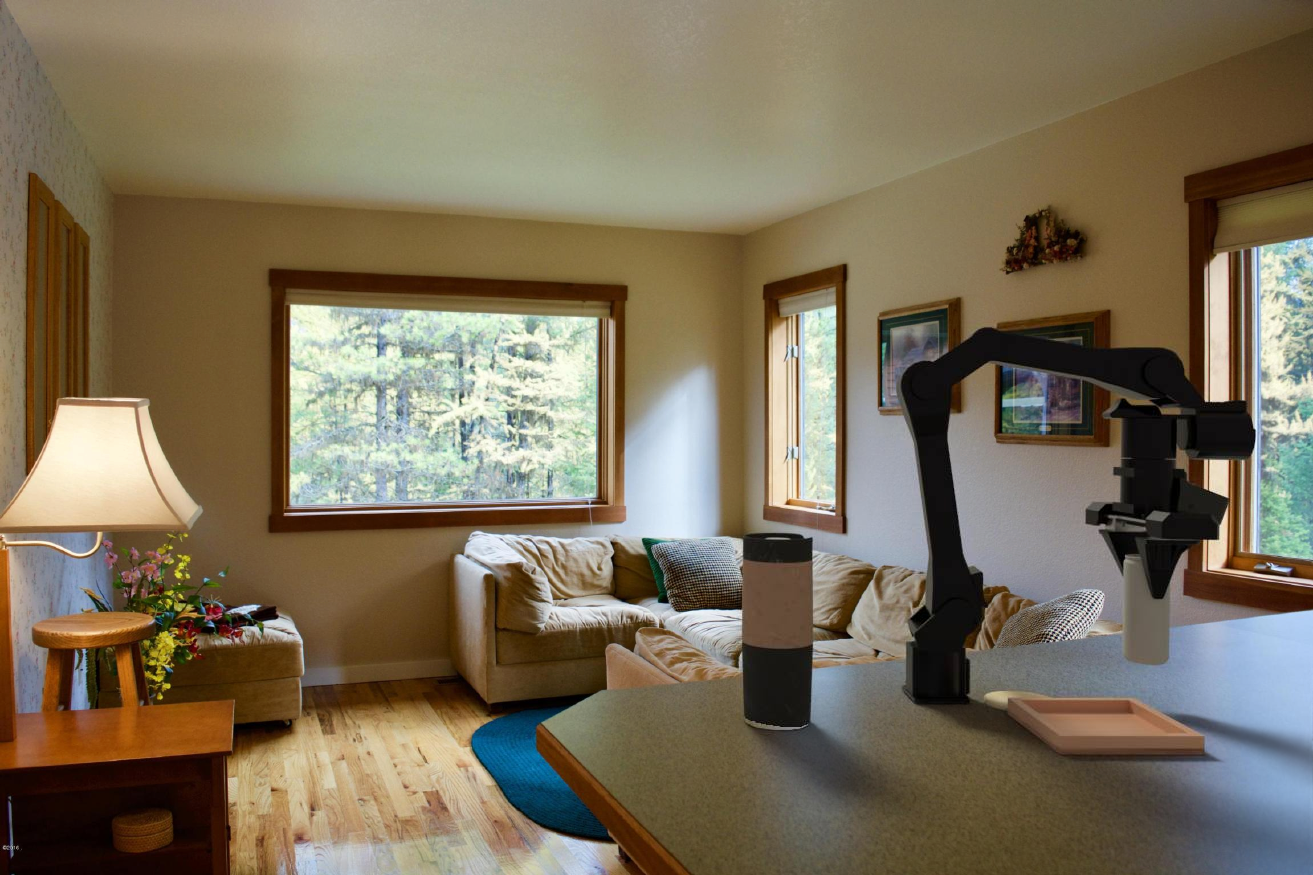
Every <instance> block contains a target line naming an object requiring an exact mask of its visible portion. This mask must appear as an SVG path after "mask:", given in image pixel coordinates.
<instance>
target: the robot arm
mask: <svg viewBox="0 0 1313 875" xmlns="http://www.w3.org/2000/svg"><path fill="white" fill-rule="evenodd" d="M986 364H991V365H992V364H993V365H996V366H997V365H998V366H1002V367H1007V368H1008V367H1009V368H1014V369H1020V370H1025V371H1032V372H1036V373H1042V374H1047V375H1053V376H1059V377H1064V378H1065V377H1066V378H1070V379H1074V380H1075V379H1077V380H1081V381H1082V380H1083V381H1085V382H1087V383H1091V384H1094V385H1096V386H1098V387H1100V388H1102V389H1105V390H1106V391H1109V392H1112V393H1114V394H1118V395H1120V396H1123V397H1121V398H1117V399H1116V400H1115V401H1114V402H1113V404H1112V405H1111V406H1110V407H1109V408H1108V409H1106V410H1105V411H1103V412H1102V414H1101V416H1102V418H1103V419H1105V420H1106V419H1109V420H1110V419H1111V420H1112V419H1113V420H1117V419H1118V420H1121V426H1120V428H1121V432H1120V434H1121V435H1120V442H1121V443H1120V466H1113V468H1112V471H1113V472H1112V476H1116V477H1117V476H1118V477H1120V479H1119V480H1120V483H1119V484H1120V485H1119V486H1120V491H1119V501H1092V502H1091V503H1090V504H1089V505H1088V506H1087V507H1086V508H1085V518H1084V519H1085V522H1084V523H1085V524H1086V525H1089V526H1095V527H1099V526H1101V525H1104V529H1102V528H1100V529H1098V533H1099V535H1101V536H1102V538H1103V539H1104V542H1105V543H1106V546H1107V547H1108V549H1109V552H1110V553H1111V556H1112V557H1113V559H1114V561H1115V563H1116V565H1117V567H1118V570H1119V572H1120V574H1121V576H1122V577H1123V574H1124V560H1125V559H1126V558H1125V555H1127V554H1140V557H1141V561H1142V565H1143V568H1144V572H1145V576H1146V579H1147V583H1148V586H1149V589H1150V592H1151V595H1152V598H1153V599H1163V598H1164V596H1165V594H1166V591H1167V588H1168V586H1169V583H1170V584H1171V580H1172V577H1173V575H1174V572H1175V569H1176V567H1177V565H1178V562H1179V560H1180V558H1181V556H1182V555H1183V554H1184V553H1186V551H1188V550H1189V549H1190V548H1192V547H1193V546H1197V545H1199V544H1200V543H1201V541H1218V540H1219V541H1220V529H1221V528H1220V526H1221V525H1222V522H1223V521H1224V517H1225V514H1226V513H1227V512H1226V511H1227V509H1228V506H1229V504H1230V501H1231V499H1230V498H1229V497H1227V496H1224V495H1222V494H1219V493H1216V492H1214V491H1211V490H1209V489H1206V488H1204V487H1201V486H1199V485H1198V484H1196V483H1190V482H1189V480H1188V473H1187V471H1185V468H1177V457H1178V456H1177V454H1178V453H1177V448H1178V449H1179V450H1180V451H1184V452H1185V454H1186V456H1187V458H1189V460H1197V461H1198V460H1200V461H1201V460H1205V461H1207V460H1208V461H1209V460H1210V461H1247V460H1248V459H1249V458H1250V457H1252V454H1253V453H1254V449H1255V445H1256V438H1257V430H1256V428H1254V422H1253V420H1252V419H1253V418H1252V417H1251V414H1250V413H1249V412H1248V410H1247V408H1248V407H1247V406H1248V405H1247V404H1248V402H1247V400H1243V399H1241V400H1240V399H1237V400H1236V399H1235V400H1232V399H1231V400H1226V401H1206V400H1205V399H1204V397H1202V395H1201V394H1200V393H1199V392H1198V390H1197V389H1196V387H1195V386H1194V385H1193V383H1191V381H1190V380H1189V379H1188V377H1187V376H1186V375H1185V370H1186V369H1185V366H1184V364H1183V361H1182V360H1181V358H1180V357H1179V356H1178V354H1177V352H1175V351H1174V350H1171V349H1169V348H1166V347H1162V346H1161V347H1158V346H1157V347H1155V346H1154V347H1152V346H1147V347H1146V346H1145V347H1144V346H1143V347H1142V346H1141V347H1140V346H1134V347H1133V346H1132V347H1130V346H1129V347H1128V346H1127V347H1126V346H1125V347H1124V346H1123V347H1094V346H1089V345H1084V344H1078V343H1073V342H1066V341H1060V340H1054V339H1050V338H1049V339H1048V338H1043V337H1036V336H1031V335H1026V334H1019V333H1015V332H1014V333H1013V332H1008V331H1004V330H1003V331H1002V330H999V329H997V328H995V327H992V326H984V327H981V328H978V329H977V330H975V331H973V332H972V333H971V334H970V335H968V337H967V339H965V340H964V341H962V342H961V343H959V344H958V345H956V346H954V347H953V348H951V349H950V350H948V351H947V352H946V353H944V354H943V355H941V356H939V357H938V358H936V359H935V360H920V361H916V362H914V363H913V364H911V365H910V366H908V367H907V368H906V369H904V370H902V372H901V373H900V374H899V376H898V378H897V380H896V383H895V392H896V393H895V394H896V397H897V400H898V403H899V406H900V409H901V413H902V415H903V418H904V421H905V423H906V426H907V428H908V431H909V433H910V436H911V439H912V442H913V445H914V446H913V448H914V454H915V455H914V456H915V462H916V470H917V475H918V478H917V479H918V483H919V490H920V499H921V506H922V513H923V515H922V516H923V520H924V521H923V522H924V528H925V535H926V542H927V543H926V545H927V550H928V561H927V569H926V577H925V596H924V597H925V598H924V604H923V605H922V606H920V608H919V609H917V611H915V613H913V614H912V615H911V616H910V617H909V618H908V619H907V620H906V623H907V626H908V629H909V632H910V635H911V636H912V638H913V639H914V640H912V641H909V640H908V641H905V684H902V685H901V691H903V692H904V693H905V695H906V696H908V697H909V698H910V699H911V701H913V702H914V703H917V704H969V703H971V702H972V699H971V697H970V696H969V695H970V694H971V660H970V659H969V657H967V653H966V652H967V650H966V649H967V647H966V646H965V643H966V640H967V638H968V636H969V635H971V634H973V633H974V632H975V631H977V629H978V628H979V627H980V626H981V624H982V621H983V618H984V610H983V608H986V609H988V608H989V605H988V602H987V601H986V598H985V595H984V572H983V571H982V570H980V569H979V568H977V566H975V565H971V566H968V563H967V561H966V558H965V554H964V550H963V549H964V548H963V542H962V536H961V528H960V527H961V526H960V522H959V521H960V520H959V512H958V506H957V499H956V492H955V484H954V476H953V470H952V462H951V454H950V448H949V441H948V440H949V439H948V437H949V436H948V435H949V425H950V419H951V411H952V410H951V408H952V388H953V386H955V385H956V384H959V383H960V382H961V381H963V380H964V379H966V378H968V377H969V376H970V375H972V374H973V373H974V372H976V371H977V370H979V369H980V368H981V367H983V366H984V365H986ZM1125 397H1126V398H1128V399H1132V400H1135V401H1148V402H1150V403H1151V404H1131V403H1130V402H1129V401H1128V400H1127V399H1126V398H1125ZM1160 409H1161V410H1180V411H1179V412H1180V414H1178V413H1177V414H1176V413H1175V414H1173V413H1172V414H1171V413H1170V414H1169V413H1165V414H1164V413H1162V411H1161V410H1160ZM1144 528H1145V529H1144Z"/></svg>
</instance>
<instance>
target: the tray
mask: <svg viewBox="0 0 1313 875" xmlns="http://www.w3.org/2000/svg"><path fill="white" fill-rule="evenodd" d="M1007 715H1008V716H1010V717H1011V718H1012V719H1014V720H1015V721H1016V722H1018V723H1019V724H1020V725H1021V726H1023V727H1024V728H1025V729H1027V730H1028V732H1030V733H1032V734H1033V735H1034V736H1035V737H1037V738H1038V739H1039V740H1041V741H1042V742H1043V743H1044V744H1046V745H1047V746H1049V747H1050V748H1051V749H1052V750H1054V752H1056V753H1057V754H1059V755H1063V756H1064V755H1065V756H1067V755H1077V756H1079V755H1082V756H1085V755H1088V756H1089V755H1091V756H1092V755H1094V756H1096V755H1097V756H1099V755H1100V756H1101V755H1103V756H1105V755H1106V756H1107V755H1112V756H1114V755H1116V756H1117V755H1120V756H1121V755H1123V756H1128V755H1131V756H1133V755H1139V756H1141V755H1142V756H1144V755H1148V756H1149V755H1153V756H1154V755H1157V756H1160V755H1161V756H1164V755H1165V756H1166V755H1167V756H1168V755H1169V756H1172V755H1174V756H1175V755H1176V756H1180V755H1181V756H1186V755H1187V756H1188V755H1190V756H1191V755H1193V756H1194V755H1195V756H1196V755H1197V756H1204V755H1205V751H1206V750H1205V749H1206V747H1205V743H1206V742H1205V740H1206V737H1205V735H1204V734H1201V733H1200V732H1198V731H1196V730H1194V729H1192V728H1190V727H1188V726H1187V725H1185V724H1183V723H1181V722H1179V721H1177V720H1176V719H1173V718H1171V717H1169V716H1168V715H1166V714H1164V713H1162V712H1161V711H1159V710H1157V709H1155V708H1153V707H1151V706H1149V705H1148V704H1146V703H1144V702H1141V701H1140V700H1138V699H1137V698H1135V697H1051V698H1008V711H1007Z"/></svg>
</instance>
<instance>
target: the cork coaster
mask: <svg viewBox="0 0 1313 875" xmlns="http://www.w3.org/2000/svg"><path fill="white" fill-rule="evenodd" d="M983 698H984V699H983V700H984V703H985V704H986V705H987V706H989V707H991V708H993V709H996V710H1000V711H1005V712H1008V698H1052V697H1050V696H1048V695H1044V694H1041V693H1040V694H1039V693H1034V692H1028V691H1020V690H998V691H992V692H988V693H986V694H985V695H984V697H983Z"/></svg>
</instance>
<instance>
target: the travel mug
mask: <svg viewBox="0 0 1313 875" xmlns="http://www.w3.org/2000/svg"><path fill="white" fill-rule="evenodd" d="M813 542H814V538H813V536H811V537H810V536H809V537H806V538H805V537H804V535H802V534H800V533H795V532H794V533H792V532H755V533H748V534H747V533H746V534H744V535H743V537H742V586H741V588H742V590H741V591H742V595H741V599H742V600H741V603H742V604H741V658H742V659H741V660H742V662H741V664H742V665H741V666H742V694H743V696H742V698H743V699H742V700H743V701H742V702H743V717H744V716H745V718H746V719H748V720H750V721H755V722H756V723H761V724H766V725H773V726H780V727H802V726H804V725H807V724H809V723H811V718H812V717H811V716H812V715H811V714H812V692H813V691H812V690H813V689H812V688H813V687H812V685H813V662H814V661H813V660H814V659H813V658H814V652H813V651H814V587H813V586H814V582H813V581H814V575H813V574H814V568H813V567H814V566H813V565H814V564H813V562H814V561H813V558H814V557H813V556H814V555H813V551H814V550H813V548H814V547H813V546H814V545H813ZM809 725H810V724H809Z"/></svg>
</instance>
